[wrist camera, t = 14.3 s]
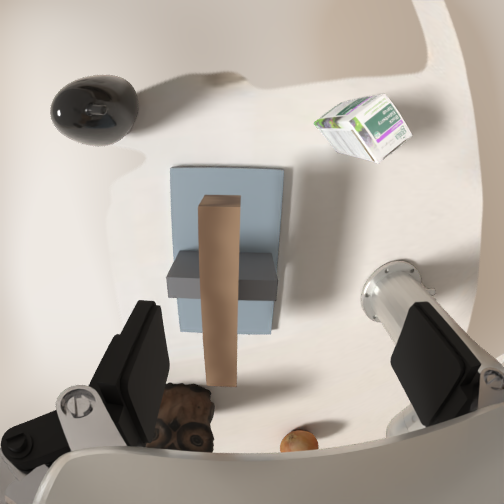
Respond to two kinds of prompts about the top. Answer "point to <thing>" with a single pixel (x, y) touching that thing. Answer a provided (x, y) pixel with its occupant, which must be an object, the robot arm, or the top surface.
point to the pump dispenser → (95, 109)
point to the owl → (184, 419)
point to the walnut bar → (219, 285)
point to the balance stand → (250, 245)
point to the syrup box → (365, 128)
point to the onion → (299, 441)
